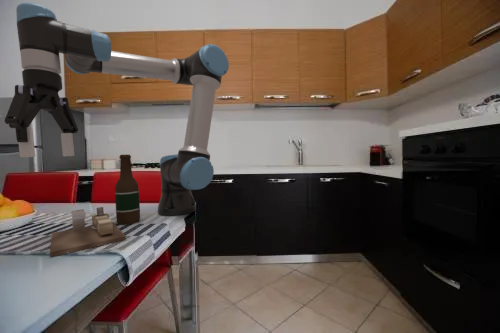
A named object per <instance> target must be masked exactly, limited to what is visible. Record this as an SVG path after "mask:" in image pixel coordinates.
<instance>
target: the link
mask: <svg viewBox="0 0 500 333" xmlns="http://www.w3.org/2000/svg"><path fill="white" fill-rule="evenodd" d="M109 216H110V215H109V213H104V206H101V207H96V214H94V215H92V216H91V217H92V218H91V222H92V223H91V224H92V226H93V227H96V228H97V230H98V231H99V233H100V235H104V234H109V233H113V222H114V221H112V220H111V219H110V217H109Z"/></svg>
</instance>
